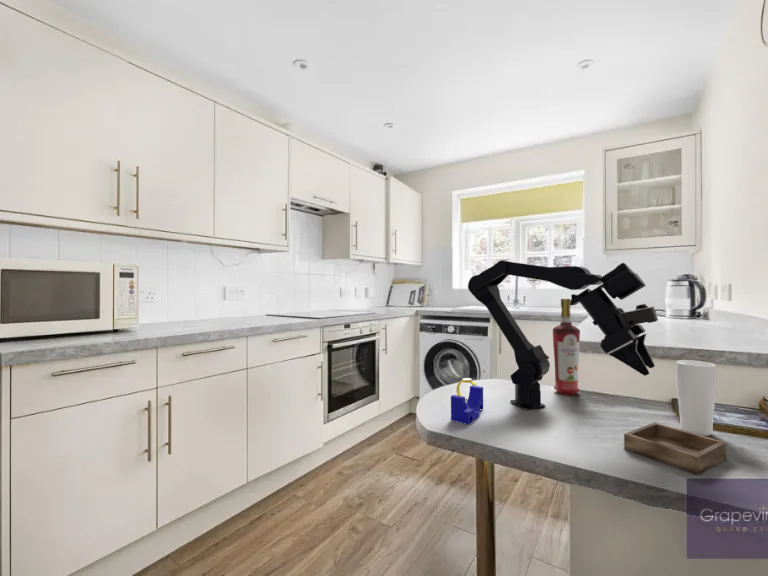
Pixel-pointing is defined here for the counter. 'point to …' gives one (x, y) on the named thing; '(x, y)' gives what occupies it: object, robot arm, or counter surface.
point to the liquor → (566, 352)
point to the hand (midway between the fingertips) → (650, 370)
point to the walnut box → (676, 447)
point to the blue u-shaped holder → (467, 405)
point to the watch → (466, 380)
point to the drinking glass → (696, 395)
